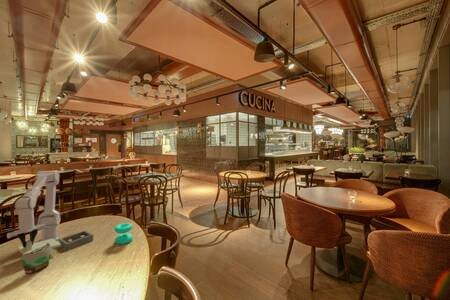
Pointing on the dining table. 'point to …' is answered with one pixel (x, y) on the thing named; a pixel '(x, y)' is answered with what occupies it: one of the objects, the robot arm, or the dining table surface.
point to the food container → (36, 260)
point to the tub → (76, 239)
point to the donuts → (123, 237)
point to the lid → (37, 245)
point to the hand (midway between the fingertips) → (28, 245)
